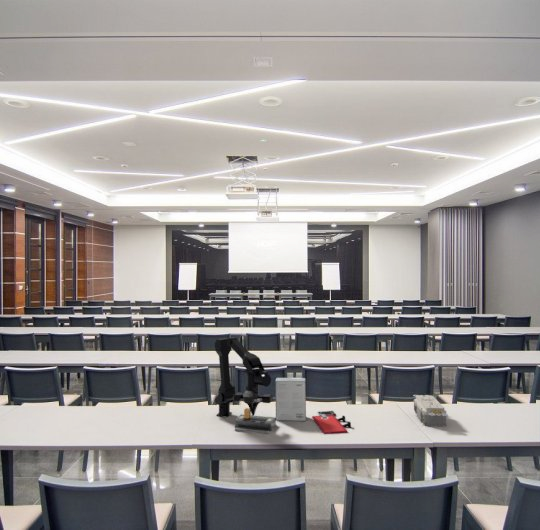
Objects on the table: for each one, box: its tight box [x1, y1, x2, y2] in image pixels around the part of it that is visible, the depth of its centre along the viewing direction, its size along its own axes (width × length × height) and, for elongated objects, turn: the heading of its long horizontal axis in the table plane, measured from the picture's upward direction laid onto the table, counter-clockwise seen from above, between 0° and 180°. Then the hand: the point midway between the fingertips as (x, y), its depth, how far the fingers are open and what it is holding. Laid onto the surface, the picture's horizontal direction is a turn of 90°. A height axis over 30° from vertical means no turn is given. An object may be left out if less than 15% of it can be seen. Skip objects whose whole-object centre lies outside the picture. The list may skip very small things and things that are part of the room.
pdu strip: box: [234, 414, 277, 432], centre depth 203 cm, size 9×18×4 cm, turn 74°
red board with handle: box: [311, 410, 352, 435], centre depth 209 cm, size 30×3×15 cm
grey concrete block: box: [412, 394, 449, 427], centre depth 212 cm, size 12×28×10 cm, turn 177°
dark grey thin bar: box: [234, 426, 269, 435], centre depth 196 cm, size 2×16×1 cm, turn 74°
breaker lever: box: [243, 407, 252, 419], centre depth 204 cm, size 3×2×4 cm
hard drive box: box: [274, 377, 307, 422], centre depth 215 cm, size 16×8×20 cm, turn 84°
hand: (253, 415), depth 203 cm, fingers closed
